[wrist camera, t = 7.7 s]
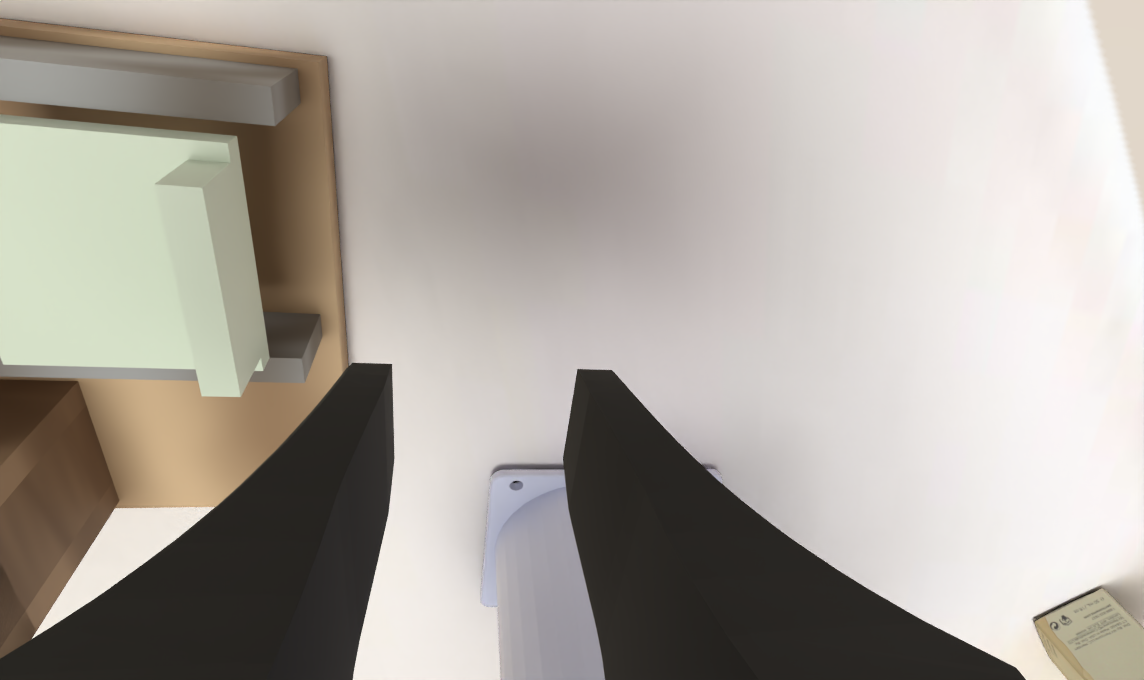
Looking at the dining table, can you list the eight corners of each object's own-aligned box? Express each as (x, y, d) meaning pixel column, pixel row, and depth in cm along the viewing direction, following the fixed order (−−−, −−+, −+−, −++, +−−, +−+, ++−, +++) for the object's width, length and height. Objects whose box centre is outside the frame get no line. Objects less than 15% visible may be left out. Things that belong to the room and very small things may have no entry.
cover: (236, 135, 13) (197, 166, 11) (269, 357, 16) (243, 411, 14) (-77, 107, 12) (-178, 135, 10) (19, 350, 15) (-45, 407, 13)
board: (326, 56, 16) (295, 79, 13) (356, 484, 23) (341, 558, 20) (-495, -39, 13) (-776, -38, 10) (-150, 488, 20) (-251, 576, 17)
